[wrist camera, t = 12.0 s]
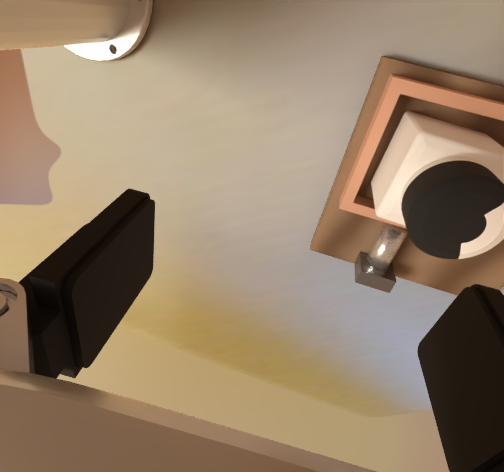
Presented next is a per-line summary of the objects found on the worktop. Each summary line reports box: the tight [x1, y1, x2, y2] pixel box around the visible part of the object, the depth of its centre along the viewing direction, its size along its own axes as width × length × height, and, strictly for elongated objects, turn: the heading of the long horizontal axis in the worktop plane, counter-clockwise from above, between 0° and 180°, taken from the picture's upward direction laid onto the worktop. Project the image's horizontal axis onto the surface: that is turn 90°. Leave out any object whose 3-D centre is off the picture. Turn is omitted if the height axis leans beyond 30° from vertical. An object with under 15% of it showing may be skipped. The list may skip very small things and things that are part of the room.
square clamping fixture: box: [310, 56, 504, 295], centre depth 30 cm, size 20×20×5 cm
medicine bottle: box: [371, 111, 504, 259], centre depth 25 cm, size 7×7×12 cm
